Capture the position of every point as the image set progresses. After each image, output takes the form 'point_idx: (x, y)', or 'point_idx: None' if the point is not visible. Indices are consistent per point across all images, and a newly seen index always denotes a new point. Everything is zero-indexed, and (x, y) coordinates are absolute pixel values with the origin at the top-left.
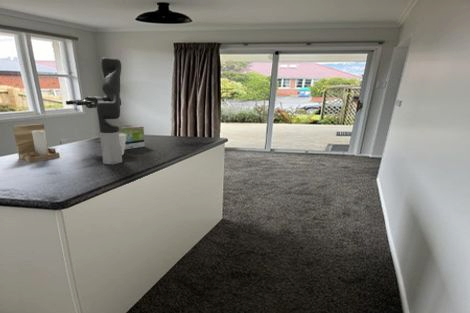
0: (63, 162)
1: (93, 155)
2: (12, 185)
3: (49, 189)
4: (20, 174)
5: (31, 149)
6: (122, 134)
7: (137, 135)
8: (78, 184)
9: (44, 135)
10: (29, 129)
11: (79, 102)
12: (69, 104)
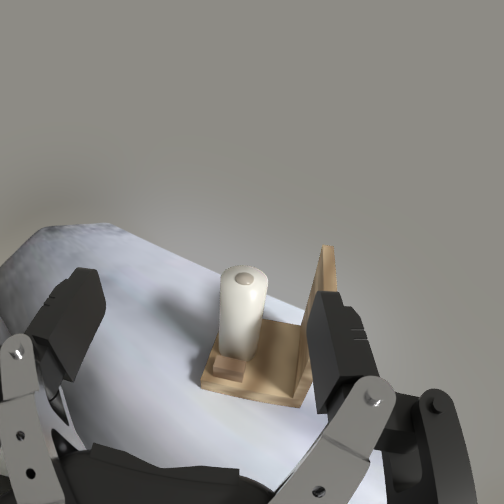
0: (135, 344)
1: (92, 436)
2: (129, 239)
3: (68, 241)
4: (161, 266)
5: (300, 346)
6: None
7: None
8: (36, 258)
9: (221, 298)
10: (318, 289)
11: (56, 288)
12: (310, 360)
